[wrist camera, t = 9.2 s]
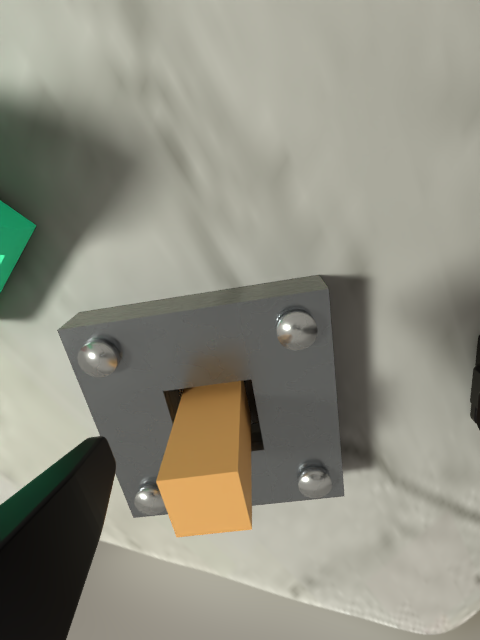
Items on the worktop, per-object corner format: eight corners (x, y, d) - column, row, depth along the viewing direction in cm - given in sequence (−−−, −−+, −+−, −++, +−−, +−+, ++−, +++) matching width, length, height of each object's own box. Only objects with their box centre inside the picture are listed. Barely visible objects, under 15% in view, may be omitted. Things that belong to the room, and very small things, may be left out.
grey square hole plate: (319, 274, 19) (331, 292, 16) (335, 465, 25) (346, 504, 22) (78, 312, 20) (51, 335, 18) (143, 486, 26) (130, 525, 23)
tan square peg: (241, 370, 22) (237, 471, 14) (250, 415, 23) (251, 529, 16) (186, 378, 22) (156, 481, 15) (199, 422, 23) (176, 537, 16)
